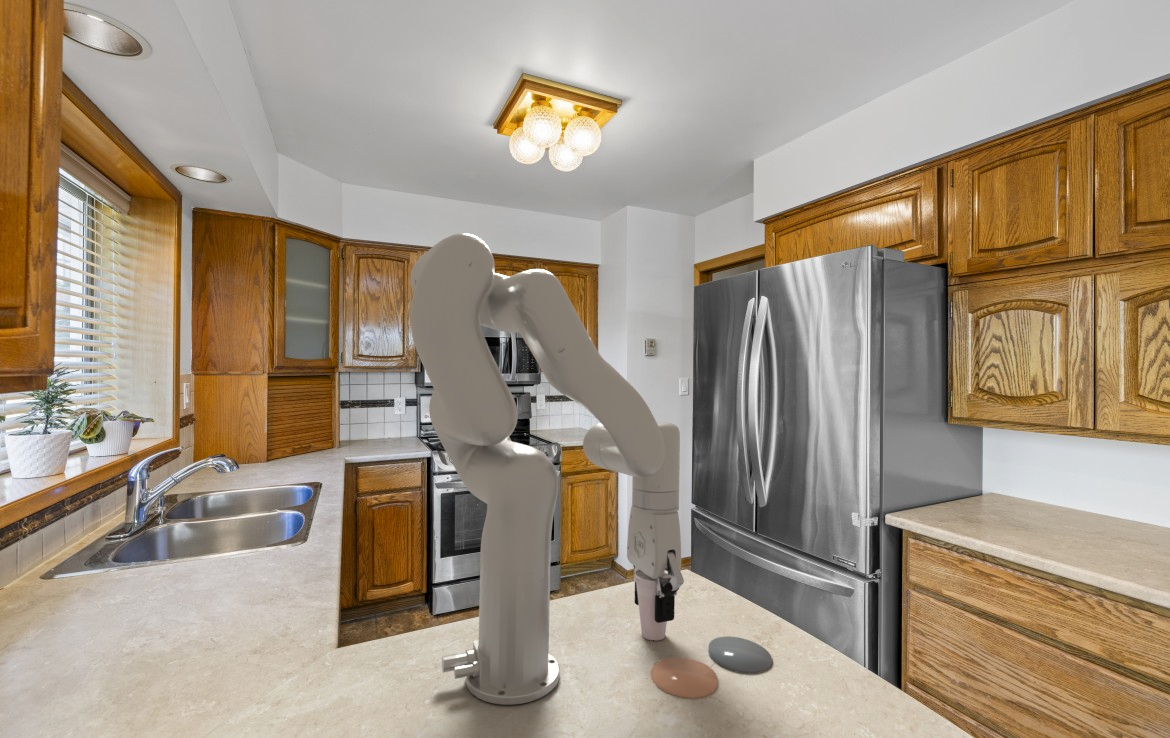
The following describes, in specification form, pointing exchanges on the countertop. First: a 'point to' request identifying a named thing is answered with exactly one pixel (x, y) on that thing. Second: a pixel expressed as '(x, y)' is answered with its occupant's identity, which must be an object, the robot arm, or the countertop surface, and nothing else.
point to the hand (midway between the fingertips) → (653, 610)
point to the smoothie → (649, 606)
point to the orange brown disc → (684, 677)
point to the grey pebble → (739, 655)
